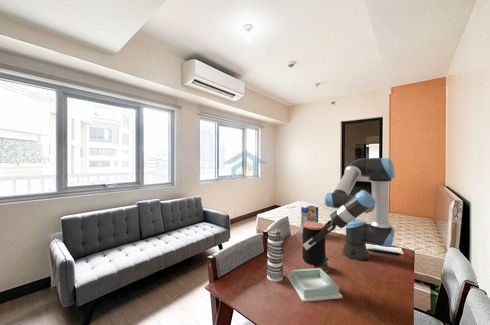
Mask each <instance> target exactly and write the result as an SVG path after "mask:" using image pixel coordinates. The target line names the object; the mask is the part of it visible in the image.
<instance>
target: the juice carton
mask: <svg viewBox="0 0 490 325" xmlns="http://www.w3.org/2000/svg"><path fill="white" fill-rule="evenodd" d="M300 214H301V215H300V236H302V237H303V223H304V222H318V223H319V207H318V206H315V205H305V206H301V211H300Z"/></svg>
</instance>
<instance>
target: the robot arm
mask: <svg viewBox="0 0 490 325" xmlns="http://www.w3.org/2000/svg"><path fill="white" fill-rule="evenodd" d="M393 162H394V161H393V160H392V159H391V158H387V157H377V158H375V157H371V158H370V157H366V158H365V157H363V158H358V159H355V160H354V161H351V162H350V163H349V164H347V166H346V167H345V169H344V174H343V175H342V177H341V178H340V181H339V182H338V184H337V185H336V187H335V189H334V191H333V192H326V193H325V195H324V204H325V207H329V208H332V209H336V210H335V211H333V212H332V213H331V214H329V216H330V219H331V220H328V221H327V222H326V223H325V224H324V225H325V226H324V227H323V229H322V230H321V231H320V232H319V233H318V234H317V235H315V236H314V237H313V236H312V238H311V239H310V240H308V241H307V242H306V243H304V244H303V243H302V247H303V246H304V248H305V249H306V250H307V249H309V248H310V247H311V246H313V245H314V244H315V243H318V242H319V241H320V240H321V239H322V238H324V237H325V238H326V236H327V235H328V234H330V233H331V232H332V231H335V230H336V228H337V227H338V228H340V229H343V228H345V243H344V247H343V248H342V254H343V255H344V256H345V257H347V258H350V259H352V260H355V261H367V260H369V258H370V256H369V255H370V254H369V250H368V248H367V245H366V244H372V245H376V246H381V247H385V248H391V247H392V245H393V242H394V238H395V232H396V231H395V230H396V229H395V228H393V227H392V226H393V225H392V224H391V223H390V221H389V215H390V214H389V184H390V183H391V182H392V179H394V178H395V177H396V176H395V175H396V174H395V167H394V163H393ZM361 177H364V178H368V181H369V182H370V183H371V194H370V193H369V192H368V191H366V190H365V189H361V190H360V191H359V192H357V193H355V195H354V194H353V195H352V194H351V192H352V190H353V188H354V186H355V184H356V182H357V181H358V180H359V179H360V178H361ZM364 213H365V214H368V213H371V220H370V221H369V223H367V221H366V220H365V219H356V218H358V217H359V216H361V215H362V214H364Z"/></svg>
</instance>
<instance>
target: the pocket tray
mask: <svg viewBox="0 0 490 325" xmlns="http://www.w3.org/2000/svg"><path fill="white" fill-rule="evenodd" d="M289 272H290V273H289V275H287V279H288V281H289V282H290V283H291V286H292V287H293V288H294V290H295V292H296V293H297V295H298V296H299V298H300V300H301V301H302V302H305V303H306V302H315V301H324V300H333V299H334V300H335V299H342V298H343V295H342V294H341V293H340V286H339V285H338V284H337V283H336V282H335V281H334V280H333V279H332V278H331V277H330V276H328V274H327V272H324V271H323V270H322V267H321V268H315V267H314V268H302V269H301V268H300V269H291V270H290V271H289Z"/></svg>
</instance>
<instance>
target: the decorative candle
mask: <svg viewBox="0 0 490 325" xmlns="http://www.w3.org/2000/svg"><path fill="white" fill-rule="evenodd" d="M267 235H268V237H267V239H266V250H267V251H266V252H267V254H266V255H267V263H266V264H267V265H266V266H267V267H266V278H267V279H268V280H269V281H271V282H280V281H283V278H284V277H283V276H284V274H283V273H284V271H283V270H284V264H283V263H284V262H283V257H284V251H285V250H284V246H285V244H284V243H285V242H284V239H283V236H284V234H283V232H282V231H281V230H280V229H278V228H272V229H270V230H269V231H268V232H267Z"/></svg>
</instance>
